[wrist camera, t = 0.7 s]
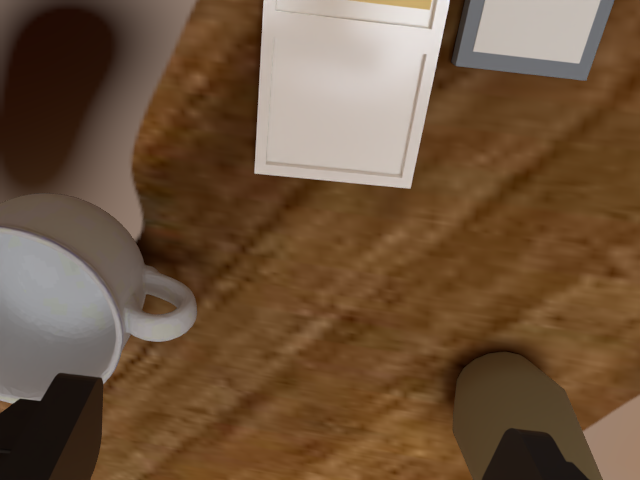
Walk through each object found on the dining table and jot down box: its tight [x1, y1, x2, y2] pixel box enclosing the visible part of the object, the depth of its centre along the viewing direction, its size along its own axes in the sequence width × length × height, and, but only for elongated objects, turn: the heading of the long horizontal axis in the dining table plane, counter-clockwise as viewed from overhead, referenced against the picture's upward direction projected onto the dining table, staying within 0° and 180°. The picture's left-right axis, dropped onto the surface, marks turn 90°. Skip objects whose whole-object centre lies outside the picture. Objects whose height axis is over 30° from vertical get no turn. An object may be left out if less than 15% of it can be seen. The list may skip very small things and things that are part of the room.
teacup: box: [0, 193, 197, 403], centre depth 30 cm, size 14×11×8 cm
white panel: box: [254, 23, 441, 189], centre depth 29 cm, size 8×9×1 cm
